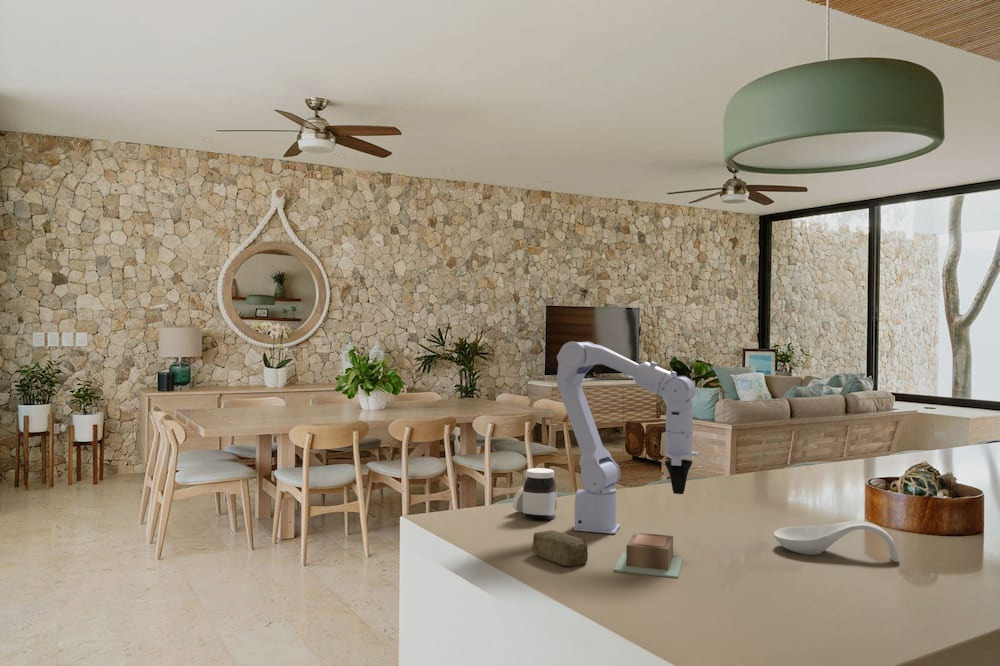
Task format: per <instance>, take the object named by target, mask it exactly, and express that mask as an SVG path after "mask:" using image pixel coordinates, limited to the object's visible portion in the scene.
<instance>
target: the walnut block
mask: <svg viewBox="0 0 1000 666" xmlns="http://www.w3.org/2000/svg"><path fill="white" fill-rule="evenodd" d="M626 553H627V554H626V566H632V567H642V568H651V569H661V570H669V567H670V564H671V561H672V558H673V557H674V535H666V534H657V533H655V534H654V533H652V534H651V533H645V532H644V533H642V532H633V533H632V534H631V536H630V539H629V540H628V542H627V544H626Z"/></svg>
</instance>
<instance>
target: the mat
mask: <svg viewBox="0 0 1000 666" xmlns="http://www.w3.org/2000/svg"><path fill="white" fill-rule="evenodd" d="M626 554H627V552H622V554H621V556H620V557H619V559H618V560H617V562H616V564H615V566H614V568H613V572H618V573H628V574H629V573H630V574H639V575H647V576H656V577H663V578H664V577H665V578H667V577H668V578H672V579H673V578H675V579H678V578H679V576H680V571H681V568H682V564H683V562H684V561H683V560H684V558H683V557H675V556H673V558H672V561H671V564H670V567H669V570H661V569H651V568H642V567H632V566H626Z"/></svg>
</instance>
